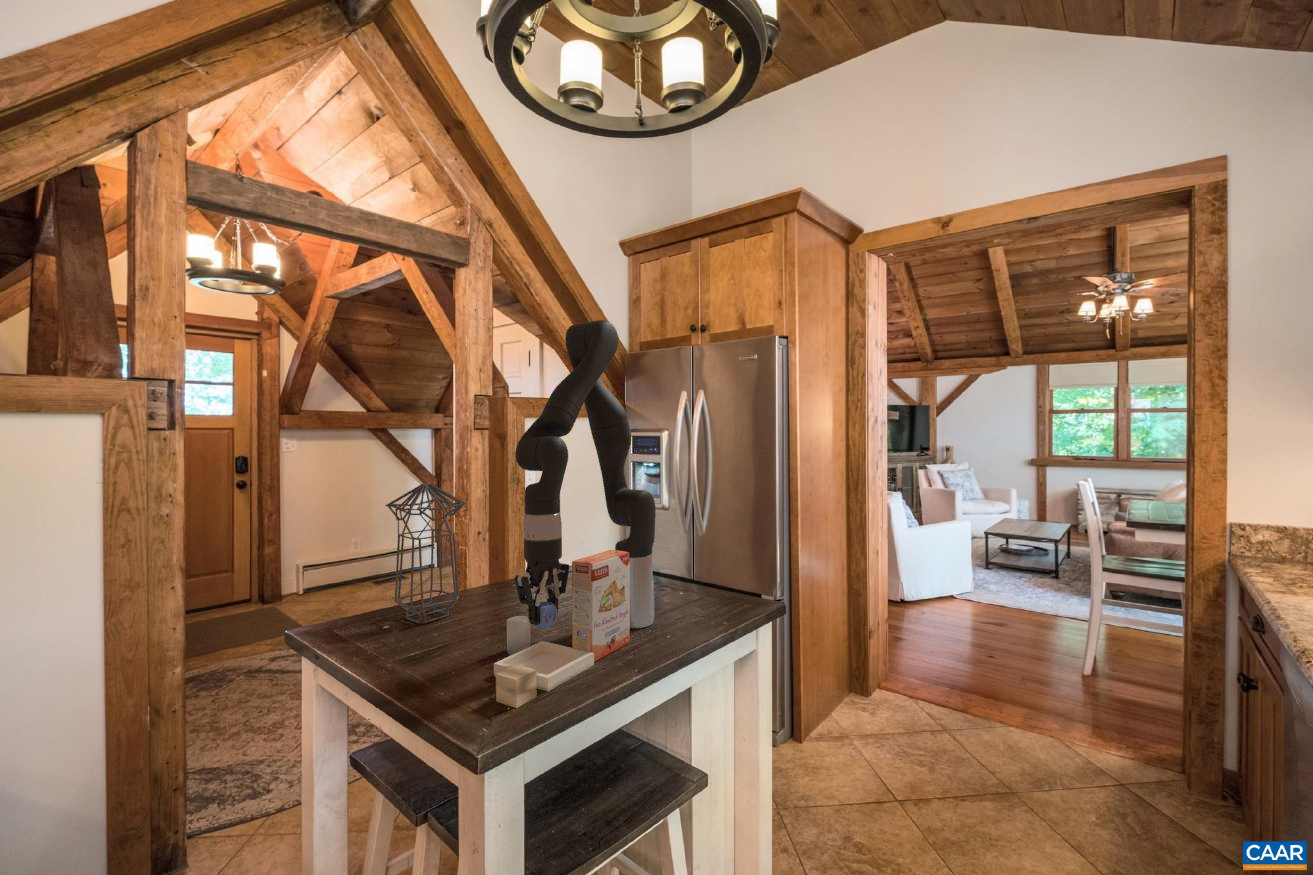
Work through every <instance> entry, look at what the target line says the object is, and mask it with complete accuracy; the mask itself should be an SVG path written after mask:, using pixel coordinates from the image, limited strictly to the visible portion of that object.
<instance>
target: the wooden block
mask: <svg viewBox="0 0 1313 875" xmlns="http://www.w3.org/2000/svg"><path fill="white" fill-rule="evenodd" d="M495 695H496V696H495V701H496V702H497V703H500V704H503V705H506V706H508V707H511V708H512V707H513V708H515V709H518V708H519V707H521V706H522V705H524V704H527V703H528V702H530V701H532V700H533V699H535V698H537V687H536V670H535V669H532V668H528V667H524V666H521V665H517V664H516V665H514V666H512V667H510V668H507V669H505V670H503V671H501V672H499V673H497V674H496V676H495Z"/></svg>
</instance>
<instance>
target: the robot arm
mask: <svg viewBox="0 0 1313 875" xmlns="http://www.w3.org/2000/svg"><path fill="white" fill-rule="evenodd" d="M565 347H566V352H567V356H568V359H569V361H570V365H571V367H572V371H571V372H570V373H569V374H567V375H566V376H565V378H564V379H563V380H561V381H560V383H559V384H558V385H557V386H556V387H555V388H554V390H553V391H552V392H551V394H550V395H549V398H548V400H547V401H546V403H545V406H544V407H543V410H542V412H541V414H540V415H539V416H538V417H537V418H536V419H535V420H534V422H533V423H532V424H531V425H530V426H529V427H528V429H527V430H526V431H525V432H524V433H523V435H522V436H521V437H520V439H519V440H518V443H517V445H516V449H515V460H516V463H517V465H518V466H519V468H521V469H522V470H525V471H530V472H541V475H540V478H539V481H538V482H534V483H530V484H528V485H527V486H526V487H525V488H524V520H523V559H524V560H525V562H526V563H527V564H526V567H525V568H526V569H525V571H524V573H523V574H521V575H515V576H514V583H515V586H516V592H517V596H518V599H519V604H522V605H525V606H526V605H527V607H528V609H527V611H528V613H527V614H528V616H527V617H528V620H529V622H530V625H533V624H534V625H538V624H540V606H539V604H540V602H541V598H542V595H543V594H544V592H545V591H546V595H547V596H546V597H547V598H546V602H552V603H553V604H554V605H555V606H556V608H557V612H558V613H559V599H560V597H561V595H562V594H565V593H566V590H567V584H568V579H569V578H568V577H569V572H570V564H567V563H563V562H562V563H561V562H560V561H559V560H560V559H561V558H562V557H563V535H562V534H563V531H562V528H563V527H562V517H561V490H562V486H563V482H564V477H565V473H566V470H567V465H568V462H569V450H568V446H567V444H566V442H565V441H564V439H563V437H565V436H567V435H569V434H570V432H571V431H572V429H573V428H574V425H575V423H576V422H577V421H576V420H577V419H578V416H579V414H580V411H581V410H582V407H583V405H584V407H585V411H586V415H587V418H588V420H587V421H588V424H589V428H590V433H591V436H592V440H593V443H594V448H595V450H596V454H597V459H598V463H599V468H600V472H601V478H602V483H603V484H602V485H603V490H604V497H605V504H606V509H607V513H608V516H609V518H610V520H611V522H613V524H614V525H617V526H622V527H629V528H630V529H629V536H628V537H627V538H625V539H621V540H619V541H617V542H616V543H615V546H614V550H616V551H625V552H629V553H630V629H642V628H646V627H649V626H652V625H653V624H654V621H655V582H654V581H653V580H654V577H653V547H654V543H655V533H656V511H657V510H656V501H655V498H654V496H653V495H652V493H651V492H650V491H648V490H643V489H630V488H629V487H628V484H627V481H626V474H625V464H626V459H628V458H627V457H628V455H629V452H630V449H631V445H632V432H631V428H630V423H629V419H628V415H627V412H626V410H625V408H624V406H623V405H622V404H621V402H620V401H619V400H618V398H616V396H615V395H614V394H613V393H612V392H611V391H610V389H609V388H608V387H607V386H606V385H605V383H604V382H603V380H602V378H601V376H602V375H603V374H604V371H605V370H606V369H607V367H608V365H609V364H610V363H611V362H612V360H613V358H614V356H616V353H617V350H618V347H619V334H618V331H617V329H616V327H615V326H614V324H613V323H612V322H610V321H609V320H605V319H598V320H592V321H585V322H580V323H574V324H572V325H570V326H569V327H568V328H567V330H566V333H565ZM534 625H533V626H534Z"/></svg>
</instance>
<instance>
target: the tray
mask: <svg viewBox="0 0 1313 875" xmlns="http://www.w3.org/2000/svg"><path fill="white" fill-rule="evenodd" d="M516 664H517V665H521V666H524V667H528V668H532V669H535V670H536V687H537V689H538V690H541V691H544V692H550V691H551V690H554V689H555V688H557V687H558V686H560V685H562V684H564V683H565V682H567V681H569V680H571V679H573V678H574V677H576V676H578V675H579V674H581V673H583V672H585V671H586V670H588V669H590V668H591V667H593V666H595V662H594V653H592V652H588V651H584V650H579V649H575V648H572V646H571V647H570V646H566V645H561V644H557V643H553V642H549V641H543V640H542V641H539V642H537V643H535V644H533V645H531V646H530V647H528V648H526V649H524V650H522V651H520V652H517V653H515V654H513V655H509V656H507V657H505V658H502V659H501V660H498V661H496V662H494V663H493V677H496V674H497V673H499V672H501V671H503V670H505V669H507V668H510V667H512V666H514V665H516Z"/></svg>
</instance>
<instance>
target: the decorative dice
mask: <svg viewBox="0 0 1313 875" xmlns="http://www.w3.org/2000/svg"><path fill="white" fill-rule="evenodd" d="M539 606H540V624H538V625H534V624H532V625H533V626H534V627H536V628H549V627H551V626H554V624H555V623H556V622H557V619H558V615H559V614H558V613H559V611H558V612H557V608H556V606H555V605H554V604H553V603H552V602H547V601H540V604H539Z"/></svg>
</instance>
